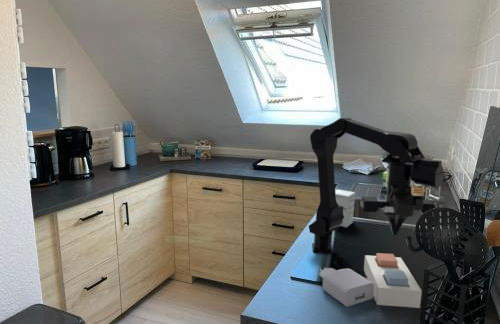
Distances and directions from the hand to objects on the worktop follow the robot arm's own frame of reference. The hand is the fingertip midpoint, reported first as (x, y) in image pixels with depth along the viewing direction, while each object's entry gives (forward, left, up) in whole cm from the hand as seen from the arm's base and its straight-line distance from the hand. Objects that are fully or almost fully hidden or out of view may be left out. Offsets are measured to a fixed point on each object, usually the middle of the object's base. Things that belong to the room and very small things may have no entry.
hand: (394, 235), depth 105 cm
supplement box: (-41, -9, -12) cm, 44 cm away
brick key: (+2, -2, -10) cm, 11 cm away
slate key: (+12, -2, -10) cm, 16 cm away
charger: (+10, -15, -12) cm, 22 cm away
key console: (+7, -2, -12) cm, 14 cm away
